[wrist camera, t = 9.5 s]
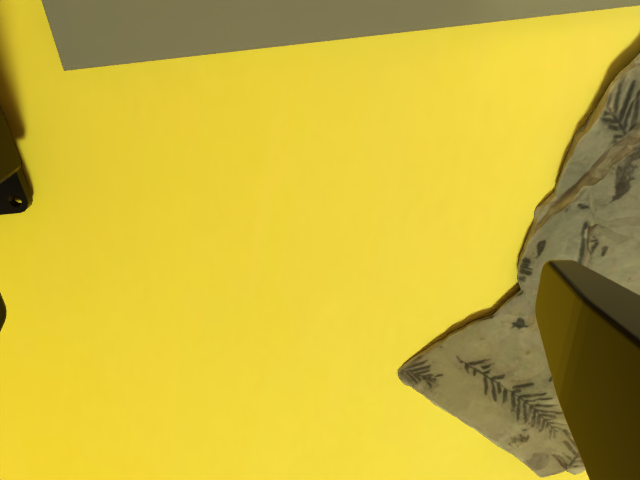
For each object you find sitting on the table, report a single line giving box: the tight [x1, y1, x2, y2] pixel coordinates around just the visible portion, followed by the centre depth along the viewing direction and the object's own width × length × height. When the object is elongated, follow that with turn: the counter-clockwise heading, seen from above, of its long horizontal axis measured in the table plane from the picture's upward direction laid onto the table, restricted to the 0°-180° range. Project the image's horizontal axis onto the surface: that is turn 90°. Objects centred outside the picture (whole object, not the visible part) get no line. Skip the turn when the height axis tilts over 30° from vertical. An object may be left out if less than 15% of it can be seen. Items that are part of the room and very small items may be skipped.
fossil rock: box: [398, 53, 640, 477], centre depth 25 cm, size 18×15×2 cm
